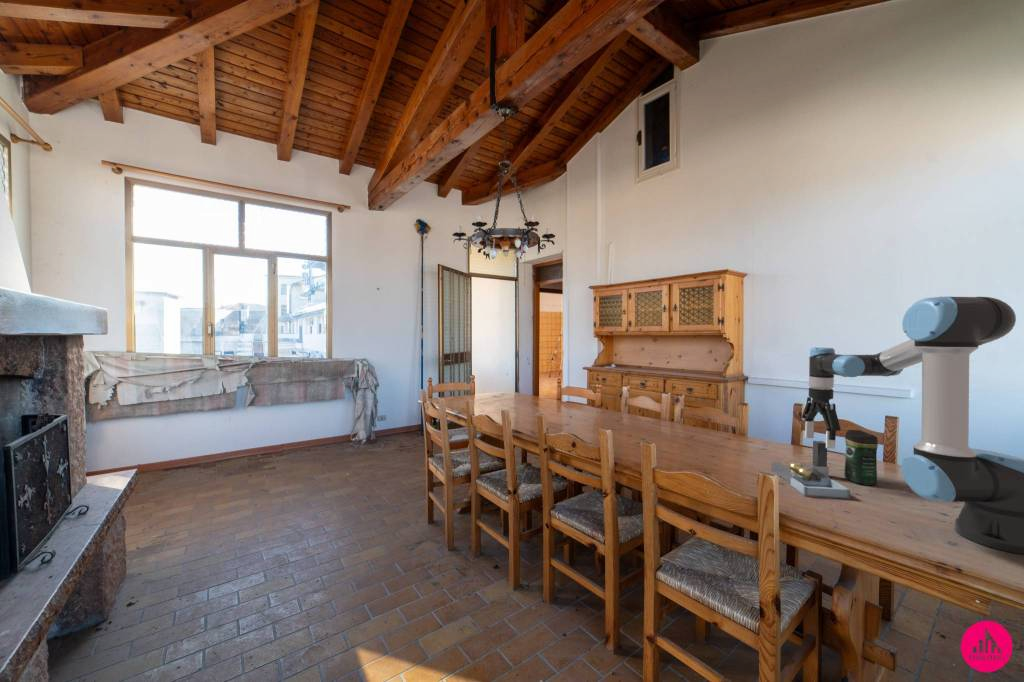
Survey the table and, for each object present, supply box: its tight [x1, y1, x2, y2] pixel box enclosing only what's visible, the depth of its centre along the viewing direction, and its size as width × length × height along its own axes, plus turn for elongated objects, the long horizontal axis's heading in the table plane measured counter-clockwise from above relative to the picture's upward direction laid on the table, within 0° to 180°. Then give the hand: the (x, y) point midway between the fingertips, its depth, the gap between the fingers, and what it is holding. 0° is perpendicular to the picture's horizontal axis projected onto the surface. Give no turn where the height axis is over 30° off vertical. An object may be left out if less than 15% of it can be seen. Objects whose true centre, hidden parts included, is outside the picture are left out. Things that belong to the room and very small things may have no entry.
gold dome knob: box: [798, 467, 812, 479], centre depth 148 cm, size 4×4×3 cm
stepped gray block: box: [810, 440, 830, 477], centre depth 155 cm, size 3×4×13 cm
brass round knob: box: [789, 461, 802, 473], centre depth 153 cm, size 4×4×3 cm
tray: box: [790, 478, 851, 500], centre depth 139 cm, size 9×14×3 cm, turn 81°
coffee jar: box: [844, 429, 879, 486], centre depth 149 cm, size 10×8×19 cm
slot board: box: [771, 461, 832, 487], centre depth 151 cm, size 16×12×4 cm
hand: (819, 442), depth 155 cm, fingers open, 13 cm apart
